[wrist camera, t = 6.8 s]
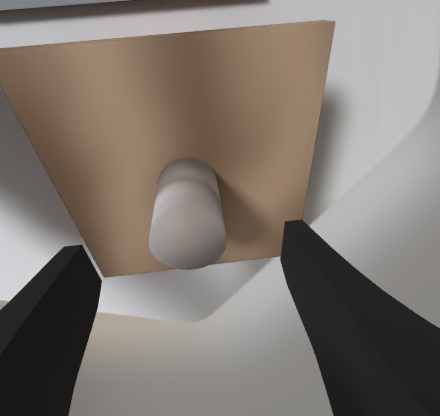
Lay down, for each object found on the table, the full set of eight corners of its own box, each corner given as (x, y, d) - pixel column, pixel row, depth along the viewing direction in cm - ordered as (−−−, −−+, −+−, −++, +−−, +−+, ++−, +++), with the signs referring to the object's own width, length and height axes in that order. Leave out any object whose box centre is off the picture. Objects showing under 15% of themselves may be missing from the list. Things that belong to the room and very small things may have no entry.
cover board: (107, 264, 17) (83, 343, 13) (-1, 48, 10) (-133, 80, 6) (291, 243, 17) (322, 312, 13) (323, 20, 10) (412, 30, 6)
